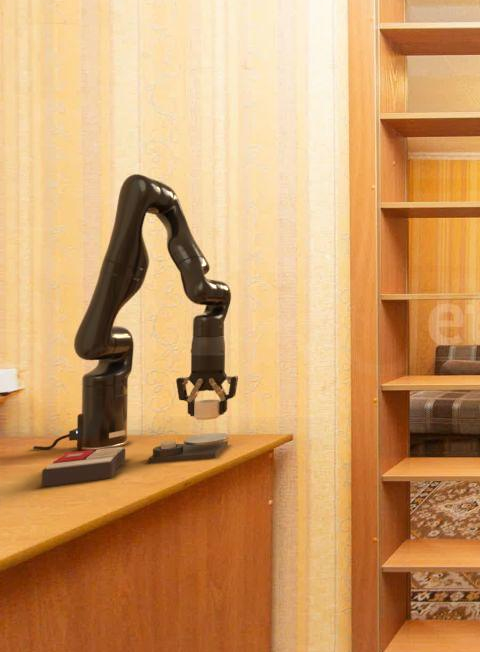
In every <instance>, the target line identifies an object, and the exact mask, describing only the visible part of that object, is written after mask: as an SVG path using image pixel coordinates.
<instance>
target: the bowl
mask: <svg viewBox="0 0 480 652" xmlns="http://www.w3.org/2000/svg"><path fill="white" fill-rule="evenodd" d="M220 401H221V400H220V399H216V398H214V399H202V400H201V399H200V400H195V402H194V416H193V418H194V419H196V420H198V421H206V420H214V419H218V418H219V417H220V416H221V415H220Z"/></svg>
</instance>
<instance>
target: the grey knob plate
mask: <svg viewBox="0 0 480 652" xmlns="http://www.w3.org/2000/svg"><path fill="white" fill-rule="evenodd" d="M228 446H229V440H225V441H221V442H218V443H212V444H205V445H188V444H184V443H176V447H175V448H170V449H161V445H157V446H155V447H153V448H152V455H151V456H149V457H148V464H155V463H156V464H157V463H169V462H171V463H172V462H181V461H182V462H183V461H184V462H185V461H196V460H211V459H216V458H217V457H218V456H219V455H220V454H221V453H222V452H223V451H224V450H225V449H226V448H227V447H228Z"/></svg>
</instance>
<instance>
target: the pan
mask: <svg viewBox="0 0 480 652" xmlns="http://www.w3.org/2000/svg"><path fill="white" fill-rule="evenodd" d="M228 439H230V435H229V434H228V433H222V432H214V433H213V432H212V433H211V432H210V433H202V434H197V435H192V436H189V437H186V438H184V439H183V444H188V445H205V444H212V443H218V442H221V441H228Z"/></svg>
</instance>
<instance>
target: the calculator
mask: <svg viewBox="0 0 480 652" xmlns="http://www.w3.org/2000/svg"><path fill="white" fill-rule="evenodd" d="M125 461H126V448H123V446H120V447H117V448H108V449H98V450H96V451H94V450H88V451H84V450H77V451H69V452H66V453H64V454H62V456H59V457H58V458H57V459H55V460H54V461H52V463H50V464H49V465H48V466H46V467H45V468H43V469H42V470H41V487H42V488H45V487H46V488H47V487H54V486H61V485H70V484H78V483H84V482H92V481H93V482H94V481H99V480H106V479H112V478H113V477H114V476H115V475H116V472H117V470H118V469H119V468H120V466H121V465H122V464H124V462H125Z"/></svg>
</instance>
